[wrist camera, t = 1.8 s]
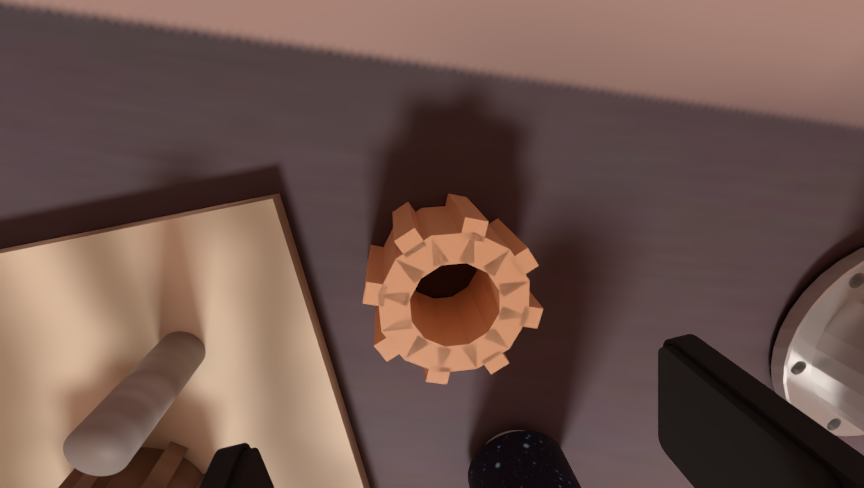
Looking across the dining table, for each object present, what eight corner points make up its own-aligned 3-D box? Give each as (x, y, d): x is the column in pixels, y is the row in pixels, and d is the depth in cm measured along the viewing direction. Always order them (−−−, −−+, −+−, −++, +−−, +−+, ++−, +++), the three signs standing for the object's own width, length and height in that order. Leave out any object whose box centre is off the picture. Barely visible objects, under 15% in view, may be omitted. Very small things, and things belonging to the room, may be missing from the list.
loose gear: (464, 164, 19) (486, 179, 15) (536, 280, 21) (573, 323, 17) (338, 248, 20) (324, 286, 16) (420, 353, 22) (428, 412, 18)
